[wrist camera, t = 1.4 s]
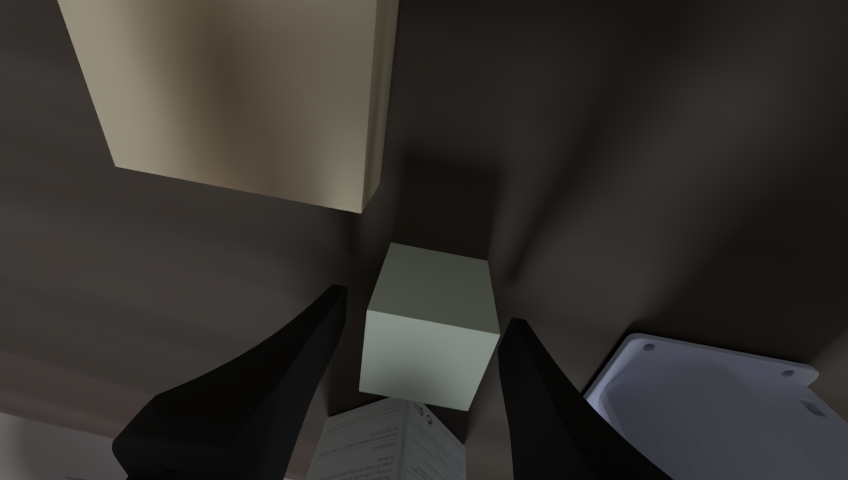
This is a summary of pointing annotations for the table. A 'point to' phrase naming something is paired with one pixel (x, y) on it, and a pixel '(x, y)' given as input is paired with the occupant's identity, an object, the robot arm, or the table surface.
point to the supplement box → (387, 445)
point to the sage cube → (429, 328)
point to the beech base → (243, 91)
